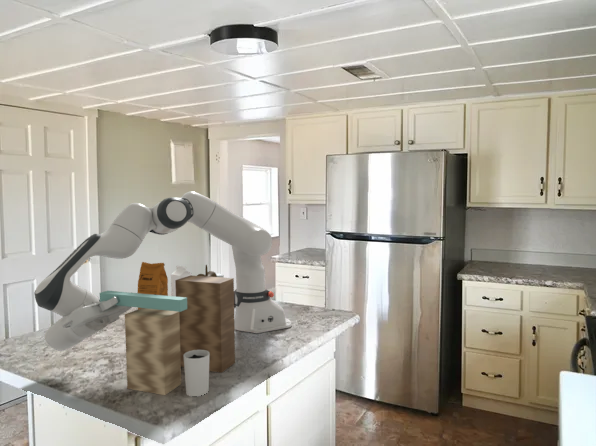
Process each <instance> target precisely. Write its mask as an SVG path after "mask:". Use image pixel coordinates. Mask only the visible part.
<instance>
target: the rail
mask: <svg viewBox="0 0 596 446" xmlns="http://www.w3.org/2000/svg"><path fill="white" fill-rule="evenodd" d="M116 296H118V297H119V299H120V302H119V303H118V304H116V305H118V306H128V307H132V308H137V309H138V308H148V309H158V310H167V311H177V312H181V311H184V310H186V309H187V298H186V297H175V296H171V295H168V296H164V295H152V294H141V293H137V292H132V293H131V292H127V291H116V290H115V291H114V290H105V291H101V292H99V300H100V302H102V301H107V300H110V299H111V298H113V297H116Z"/></svg>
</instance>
